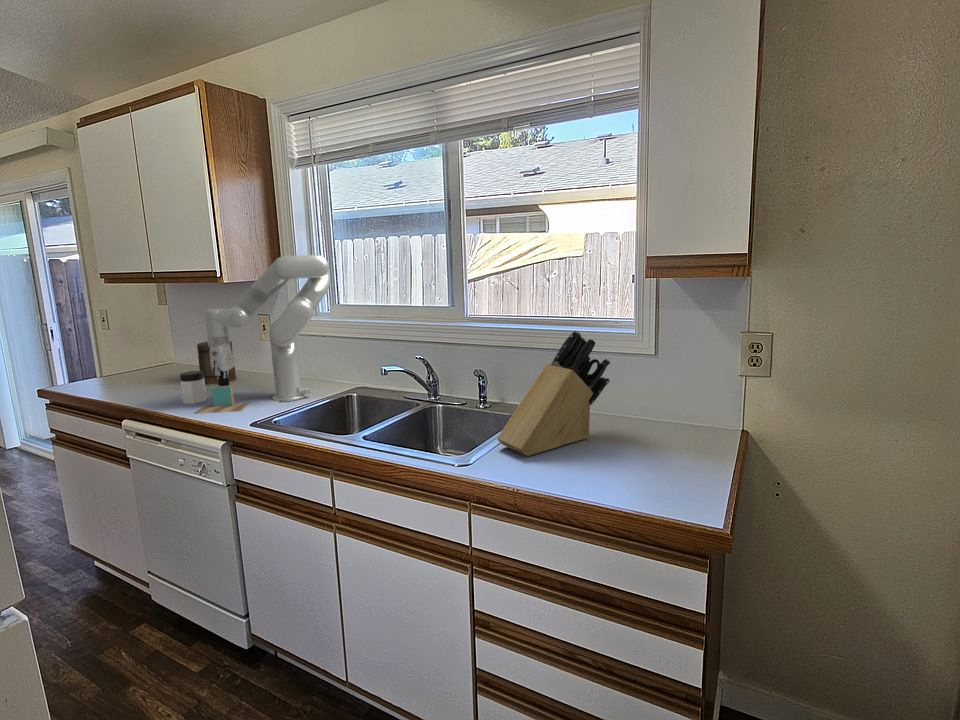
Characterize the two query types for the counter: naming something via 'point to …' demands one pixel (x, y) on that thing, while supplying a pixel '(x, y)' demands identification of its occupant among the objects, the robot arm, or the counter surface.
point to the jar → (193, 387)
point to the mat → (222, 408)
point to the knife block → (557, 401)
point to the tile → (222, 395)
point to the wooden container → (206, 364)
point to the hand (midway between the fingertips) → (224, 388)
